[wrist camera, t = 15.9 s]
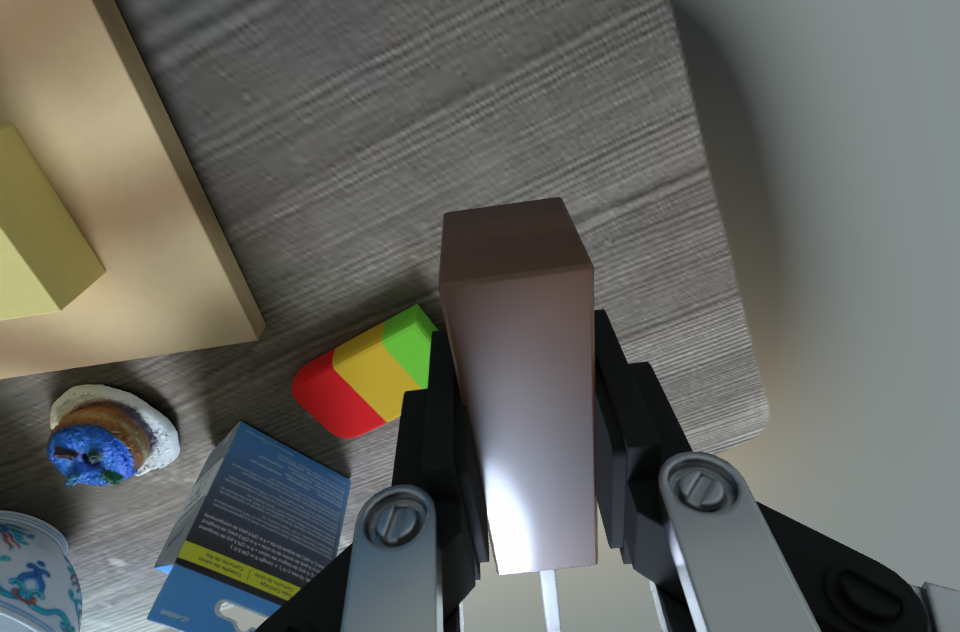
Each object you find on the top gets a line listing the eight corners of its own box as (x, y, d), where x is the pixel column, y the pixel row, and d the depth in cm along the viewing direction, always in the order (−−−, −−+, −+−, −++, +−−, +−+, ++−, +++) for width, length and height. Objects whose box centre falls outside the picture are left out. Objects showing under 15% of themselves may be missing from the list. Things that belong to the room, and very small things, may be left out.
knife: (442, 211, 10) (436, 285, 8) (561, 195, 10) (594, 264, 8) (519, 632, 20) (528, 728, 17) (582, 626, 19) (601, 721, 17)
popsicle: (287, 369, 31) (278, 391, 29) (509, 248, 27) (512, 266, 25) (347, 425, 33) (341, 448, 32) (555, 322, 30) (561, 342, 28)
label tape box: (210, 447, 34) (103, 652, 24) (243, 415, 32) (144, 618, 22) (322, 504, 38) (271, 703, 27) (356, 477, 36) (316, 676, 26)
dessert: (60, 366, 29) (71, 463, 26) (186, 365, 34) (205, 446, 31) (27, 437, 33) (33, 528, 30) (145, 427, 38) (159, 504, 35)
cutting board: (-315, 4, 20) (-367, 7, 19) (80, -74, 19) (54, -77, 18) (-2, 365, 30) (-22, 382, 28) (266, 325, 29) (258, 341, 28)
